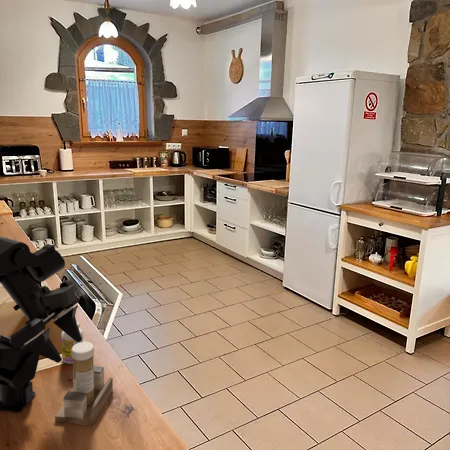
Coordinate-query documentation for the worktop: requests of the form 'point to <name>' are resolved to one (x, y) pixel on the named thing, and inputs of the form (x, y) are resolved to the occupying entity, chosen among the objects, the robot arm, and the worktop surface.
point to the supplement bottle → (69, 345)
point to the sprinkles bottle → (83, 369)
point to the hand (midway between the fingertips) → (70, 350)
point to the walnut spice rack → (85, 401)
